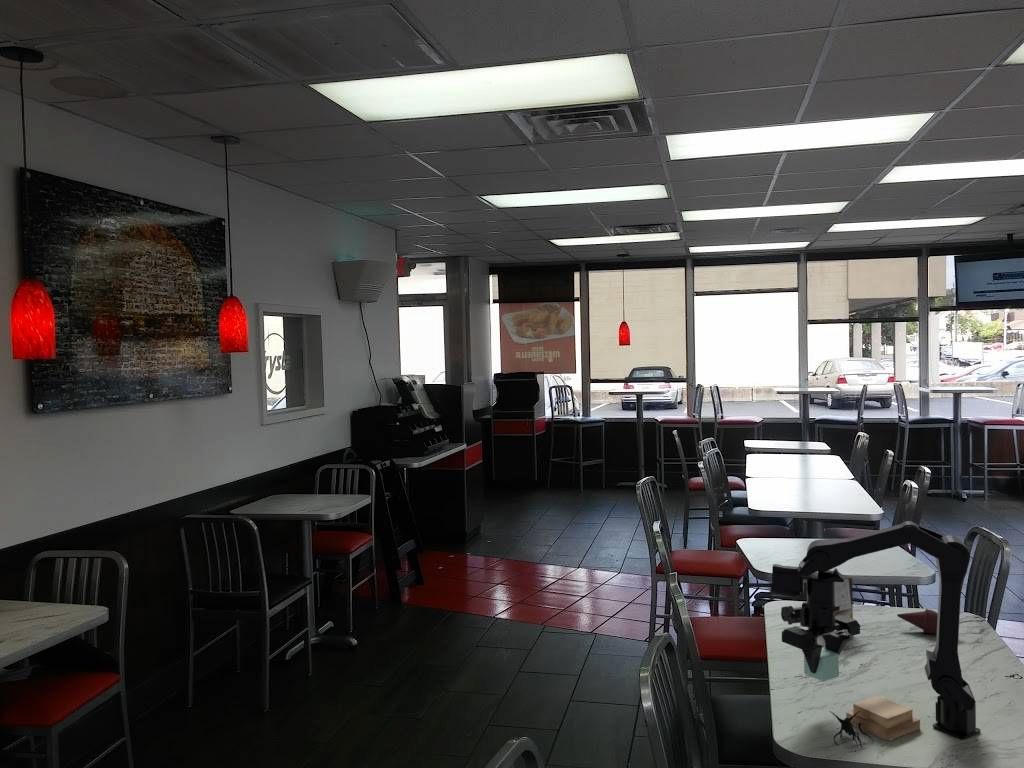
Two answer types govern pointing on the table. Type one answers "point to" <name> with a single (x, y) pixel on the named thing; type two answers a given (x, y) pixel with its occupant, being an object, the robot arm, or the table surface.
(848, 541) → the robot arm
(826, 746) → the table surface
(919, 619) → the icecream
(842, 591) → the coffee box
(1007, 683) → the table surface
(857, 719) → the plinth
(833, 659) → the teal block
